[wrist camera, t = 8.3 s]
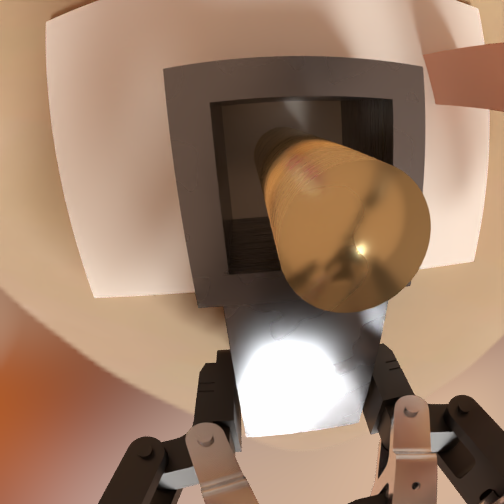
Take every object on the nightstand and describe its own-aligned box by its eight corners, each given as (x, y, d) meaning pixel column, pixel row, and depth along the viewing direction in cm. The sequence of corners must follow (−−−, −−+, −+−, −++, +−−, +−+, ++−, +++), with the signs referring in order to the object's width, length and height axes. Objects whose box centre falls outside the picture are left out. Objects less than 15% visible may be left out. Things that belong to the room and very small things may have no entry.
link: (191, 83, 9) (162, 68, 6) (363, 77, 9) (422, 66, 5) (231, 368, 14) (230, 437, 11) (349, 355, 14) (373, 419, 11)
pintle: (251, 128, 10) (273, 163, 3) (308, 125, 10) (437, 160, 3) (255, 183, 11) (281, 320, 4) (311, 179, 11) (418, 301, 4)
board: (50, 23, 8) (45, 21, 7) (473, 10, 8) (478, 8, 7) (97, 293, 13) (94, 298, 12) (469, 257, 13) (473, 261, 12)
